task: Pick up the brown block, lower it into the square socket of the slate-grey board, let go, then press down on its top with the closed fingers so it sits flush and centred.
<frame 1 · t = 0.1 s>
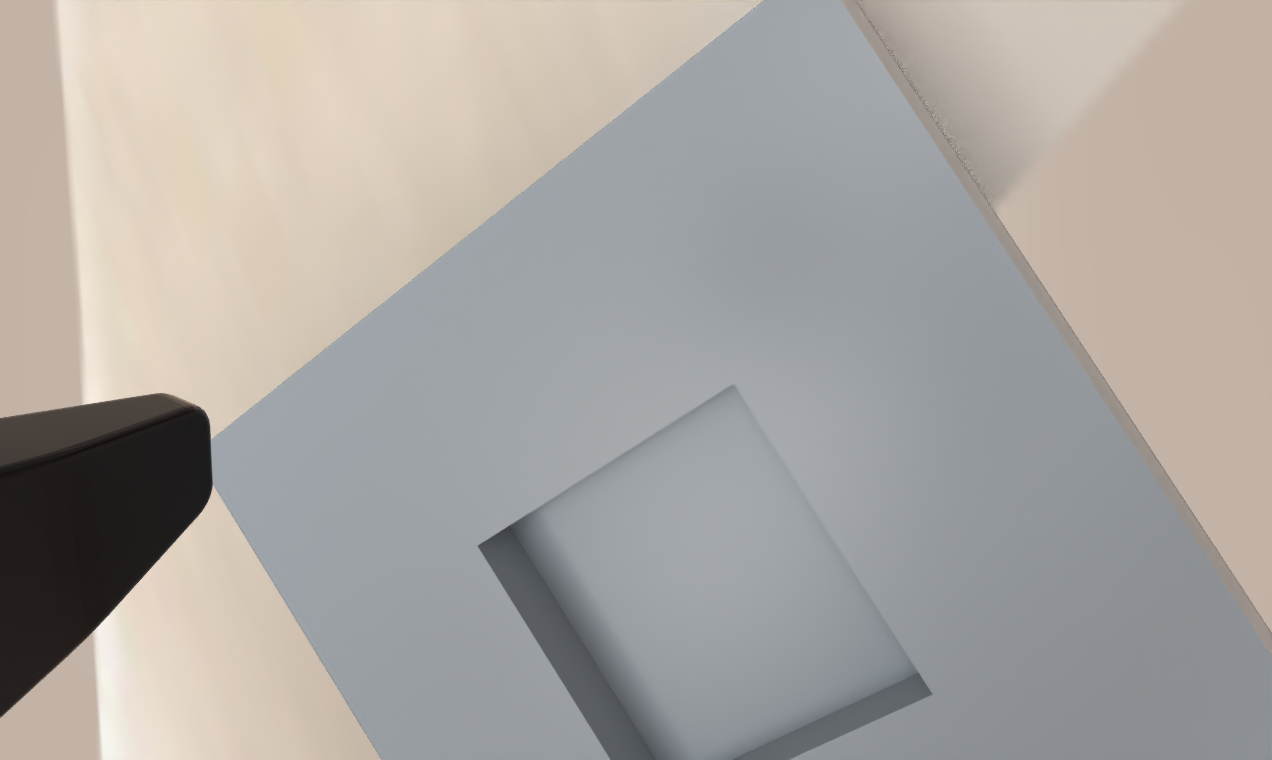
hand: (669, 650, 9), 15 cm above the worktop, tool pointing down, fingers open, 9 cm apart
socket board: (725, 573, 25), on the worktop
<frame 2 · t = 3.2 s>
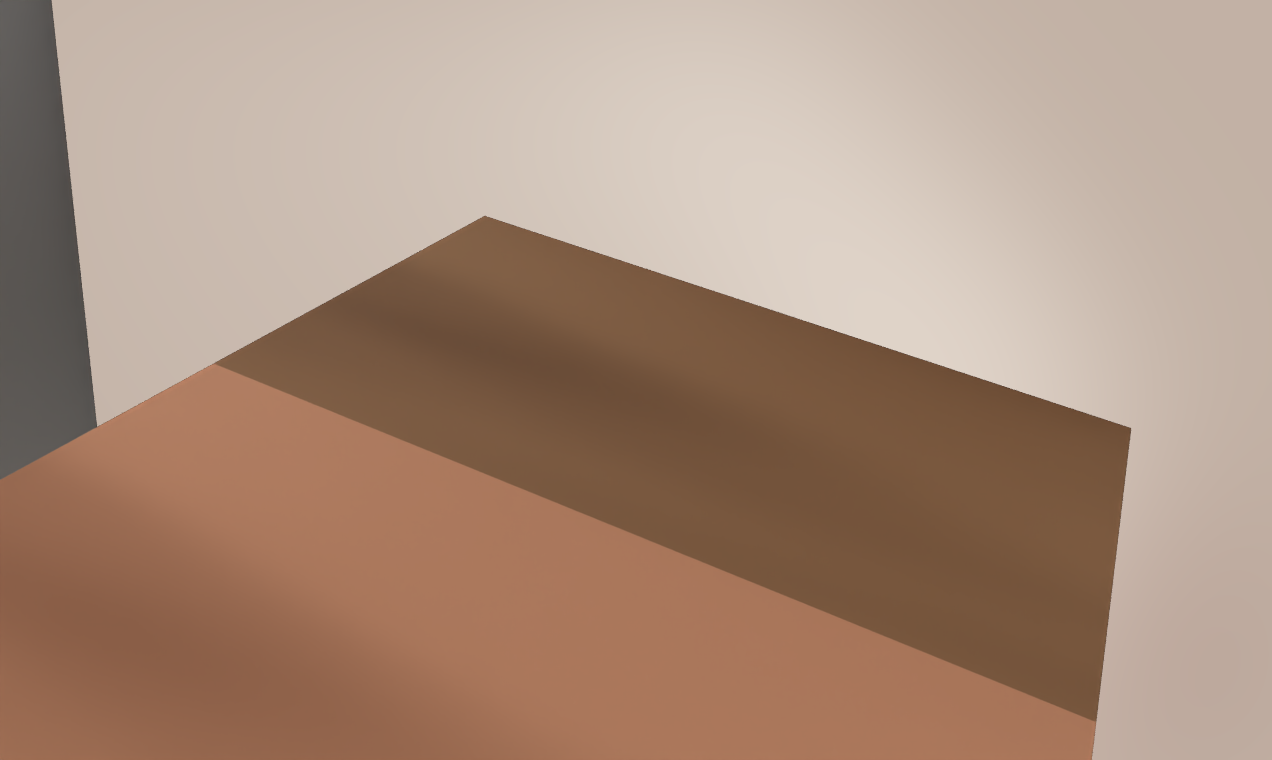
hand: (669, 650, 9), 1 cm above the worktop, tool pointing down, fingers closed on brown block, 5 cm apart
brown block: (716, 575, 9), on the worktop, touching gripper
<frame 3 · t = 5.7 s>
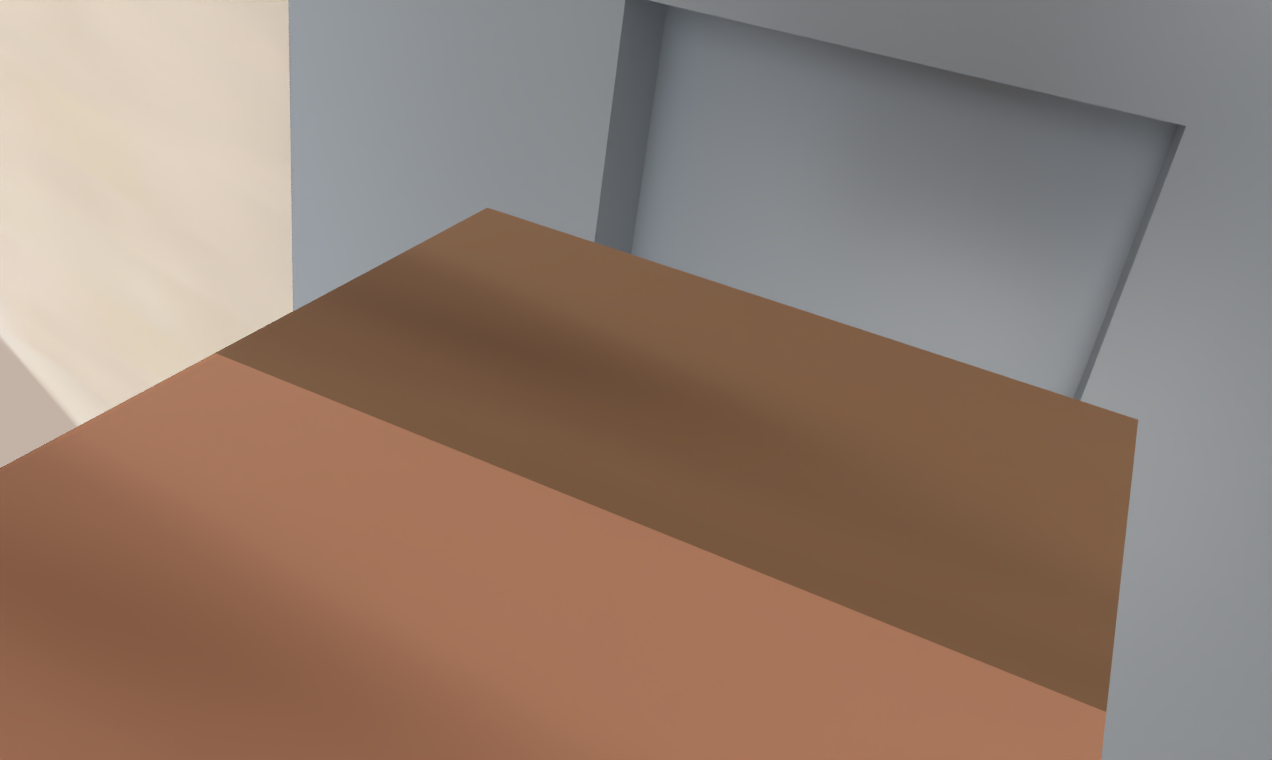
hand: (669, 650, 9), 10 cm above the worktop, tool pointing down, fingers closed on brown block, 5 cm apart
socket board: (867, 255, 17), on the worktop
brown block: (719, 569, 9), point 9 cm above the worktop, touching gripper
when the fingers open (3 cm above the worktop, at t = 8.2 s): brown block stays where it is, resting on socket board.
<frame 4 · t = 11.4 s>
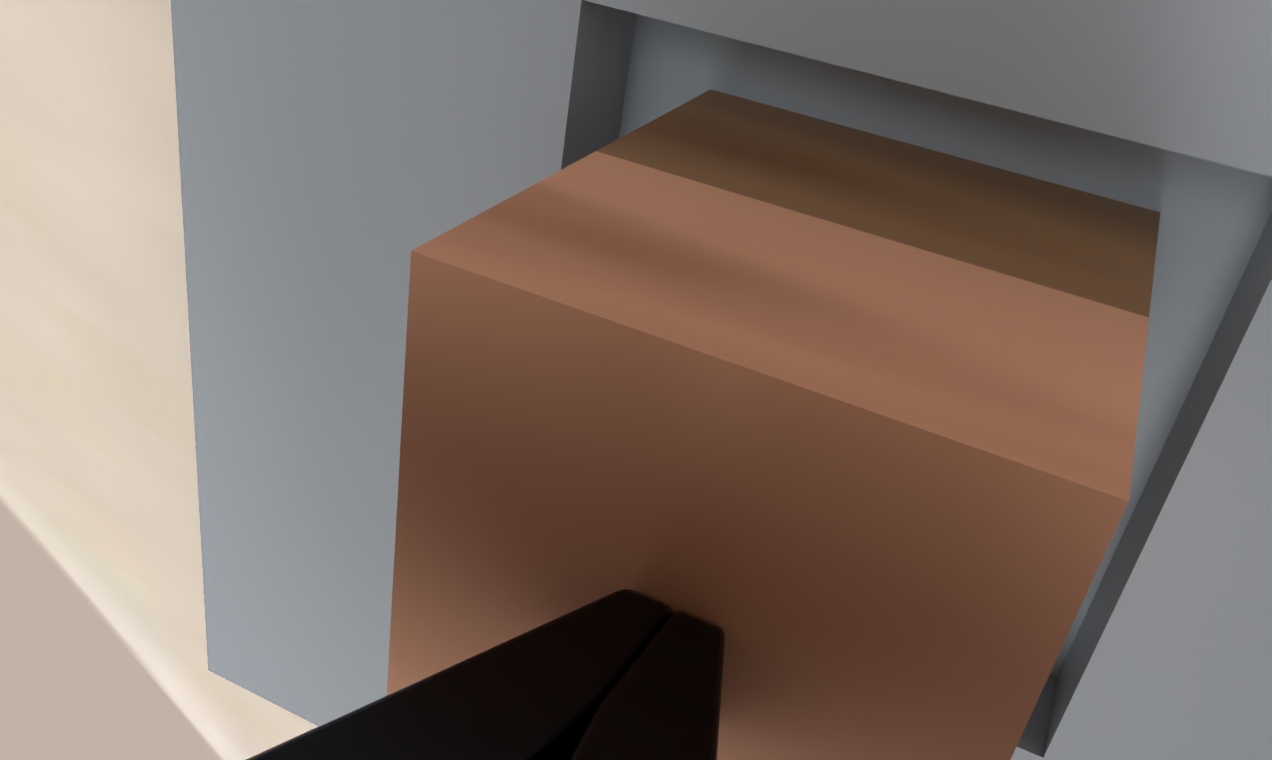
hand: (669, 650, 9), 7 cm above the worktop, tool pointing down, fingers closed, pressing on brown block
socket board: (879, 318, 14), on the worktop
brown block: (864, 347, 13), point 1 cm above the worktop, touching gripper, socket board
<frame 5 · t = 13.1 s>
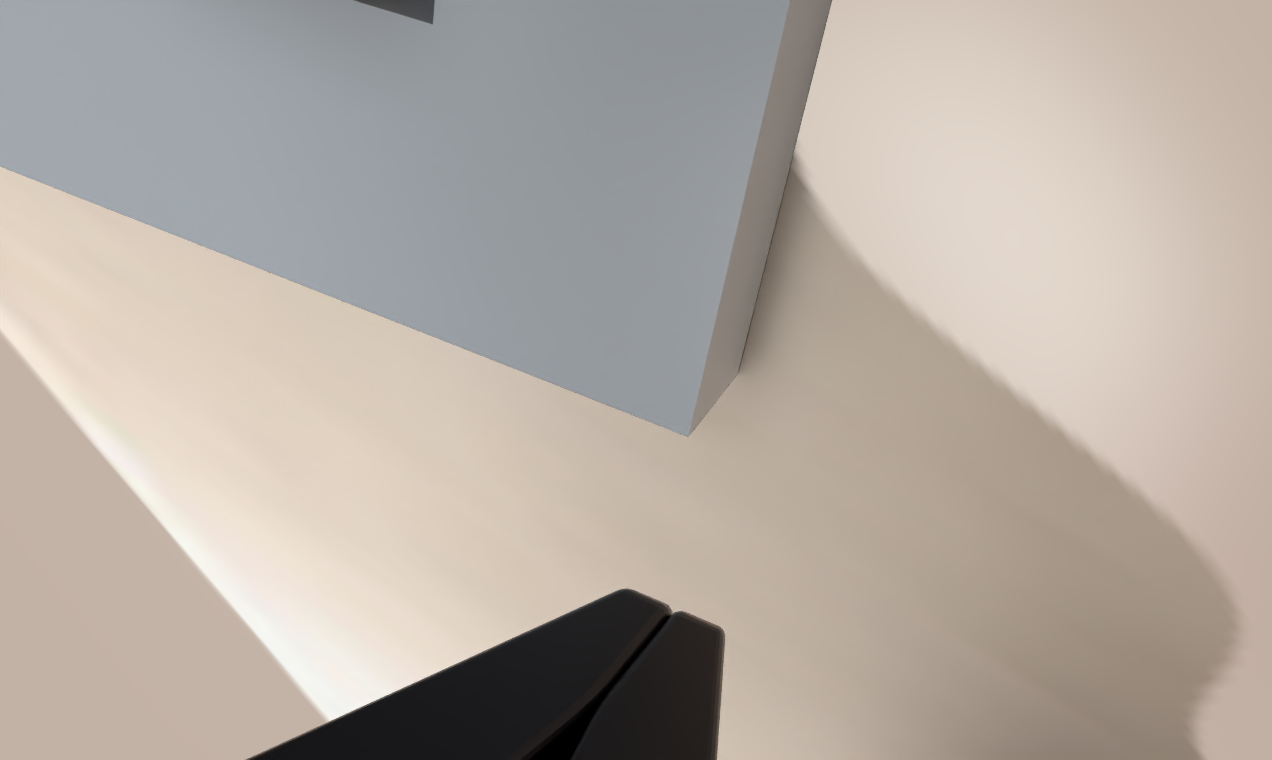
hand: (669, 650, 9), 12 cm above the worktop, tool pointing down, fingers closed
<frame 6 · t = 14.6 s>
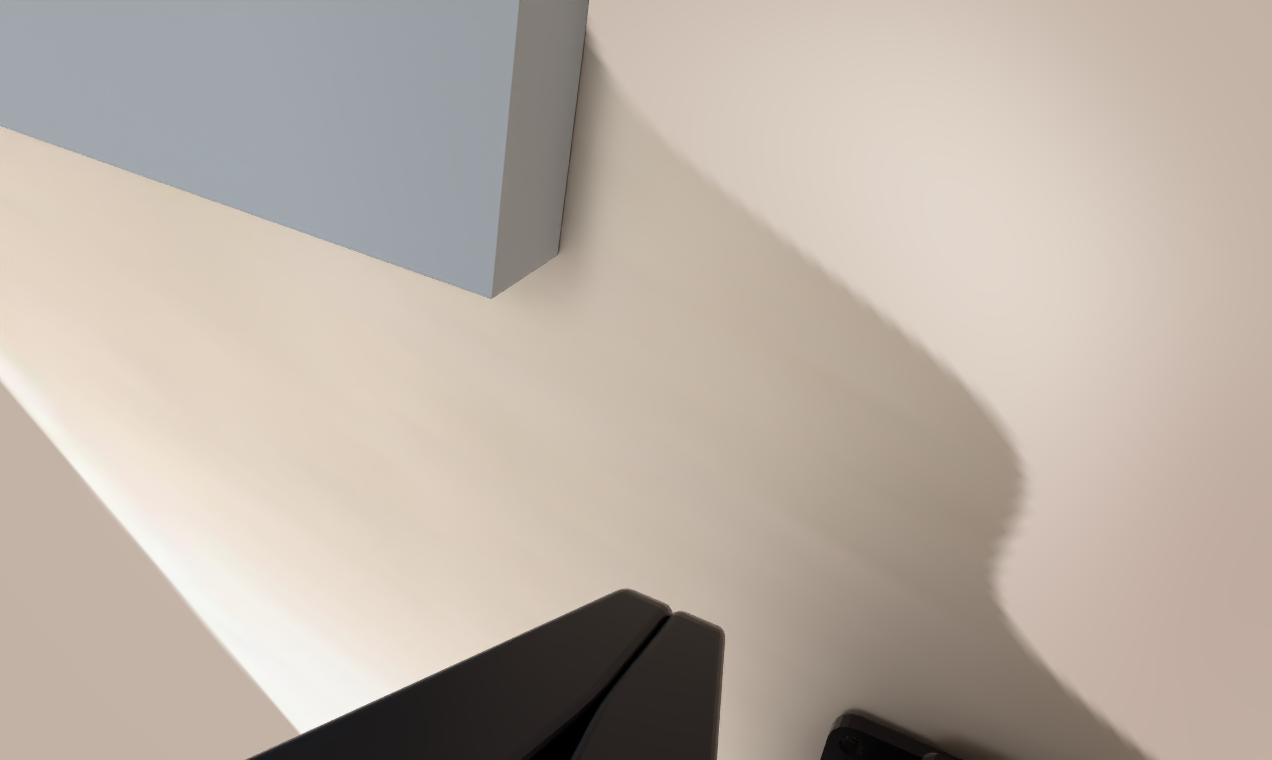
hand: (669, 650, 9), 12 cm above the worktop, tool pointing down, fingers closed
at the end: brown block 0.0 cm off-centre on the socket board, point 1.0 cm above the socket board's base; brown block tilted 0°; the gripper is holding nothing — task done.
